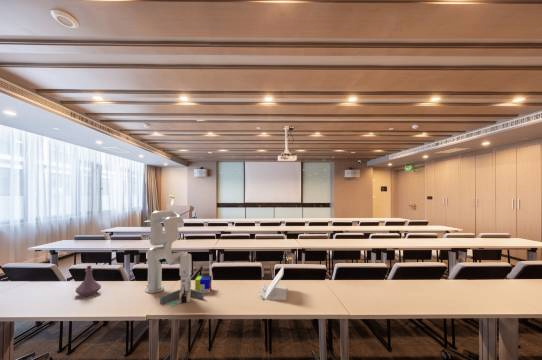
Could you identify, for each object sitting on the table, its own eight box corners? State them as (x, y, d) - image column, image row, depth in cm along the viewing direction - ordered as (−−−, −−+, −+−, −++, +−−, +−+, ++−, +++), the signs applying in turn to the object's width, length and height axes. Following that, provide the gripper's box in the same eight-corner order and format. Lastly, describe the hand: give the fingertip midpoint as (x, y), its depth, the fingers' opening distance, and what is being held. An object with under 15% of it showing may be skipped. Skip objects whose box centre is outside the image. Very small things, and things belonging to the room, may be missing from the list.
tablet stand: (286, 288, 216) (286, 265, 217) (286, 300, 191) (286, 274, 192) (263, 287, 217) (263, 265, 218) (259, 299, 192) (259, 274, 193)
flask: (79, 300, 191) (80, 270, 192) (70, 295, 201) (71, 266, 202) (105, 293, 204) (106, 265, 205) (96, 289, 214) (96, 262, 215)
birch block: (179, 302, 185) (179, 293, 186) (181, 299, 191) (181, 290, 192) (188, 302, 186) (188, 293, 186) (190, 299, 192) (190, 290, 192)
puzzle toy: (209, 293, 204) (209, 279, 204) (195, 294, 203) (195, 279, 204) (211, 289, 214) (211, 275, 214) (197, 289, 213) (198, 275, 214)
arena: (159, 304, 183) (160, 296, 184) (185, 294, 201) (185, 287, 202) (179, 310, 174) (179, 302, 174) (203, 299, 192) (203, 292, 192)
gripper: (188, 276, 181) (187, 305, 180) (193, 269, 198) (193, 295, 197) (176, 276, 181) (175, 305, 180) (182, 269, 198) (182, 295, 197)
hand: (185, 299), depth 188 cm, fingers closed on birch block, 6 cm apart
